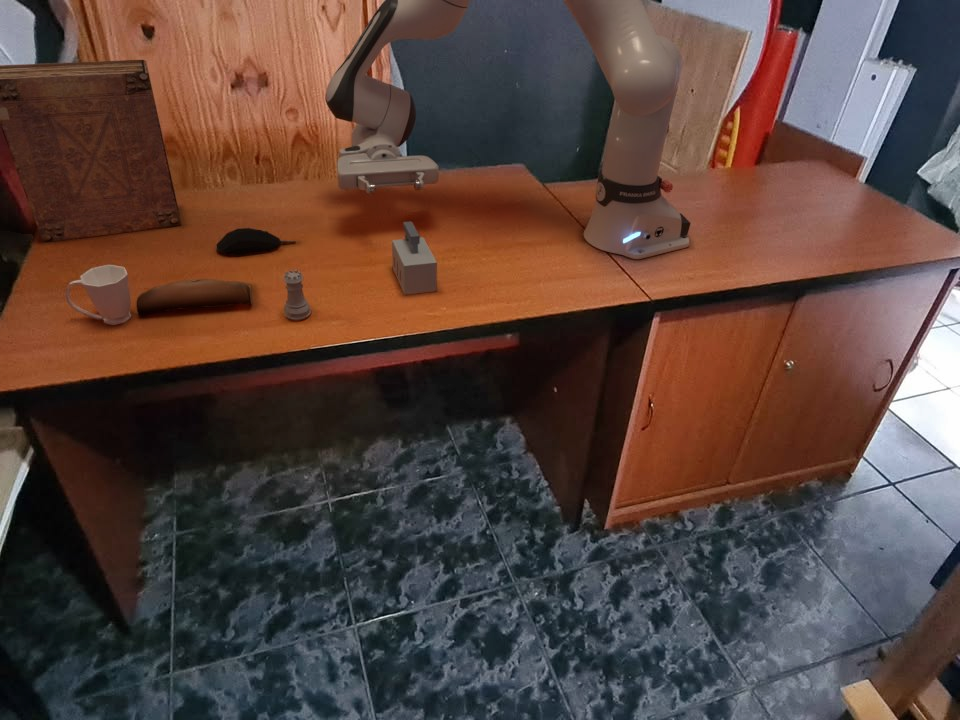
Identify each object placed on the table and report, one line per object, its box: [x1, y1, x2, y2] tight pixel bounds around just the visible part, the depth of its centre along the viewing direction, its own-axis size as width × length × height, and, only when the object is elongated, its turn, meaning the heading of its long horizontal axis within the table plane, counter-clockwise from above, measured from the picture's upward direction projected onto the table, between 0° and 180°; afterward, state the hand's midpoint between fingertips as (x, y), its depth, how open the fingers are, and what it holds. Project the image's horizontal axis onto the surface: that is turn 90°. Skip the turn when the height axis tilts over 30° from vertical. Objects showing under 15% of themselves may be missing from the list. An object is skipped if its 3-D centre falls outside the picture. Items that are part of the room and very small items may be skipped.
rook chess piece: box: [282, 269, 312, 321], centre depth 115 cm, size 4×4×8 cm
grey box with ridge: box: [391, 221, 438, 296], centre depth 126 cm, size 10×6×9 cm, turn 18°
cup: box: [65, 264, 132, 326], centre depth 111 cm, size 7×10×8 cm
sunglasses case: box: [136, 278, 253, 316], centre depth 117 cm, size 18×7×7 cm
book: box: [0, 59, 182, 243], centre depth 131 cm, size 25×9×30 cm, turn 113°
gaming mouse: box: [216, 227, 297, 257], centre depth 134 cm, size 6×15×4 cm, turn 109°
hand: (395, 188), depth 132 cm, fingers open, 8 cm apart
